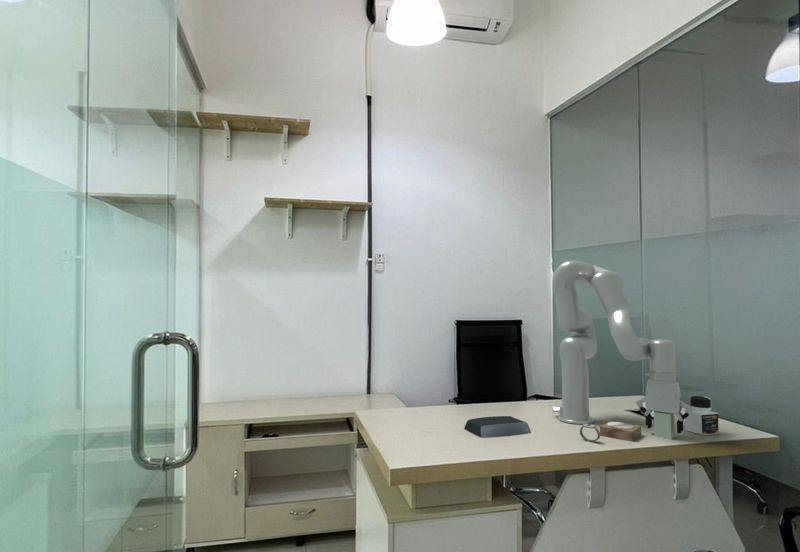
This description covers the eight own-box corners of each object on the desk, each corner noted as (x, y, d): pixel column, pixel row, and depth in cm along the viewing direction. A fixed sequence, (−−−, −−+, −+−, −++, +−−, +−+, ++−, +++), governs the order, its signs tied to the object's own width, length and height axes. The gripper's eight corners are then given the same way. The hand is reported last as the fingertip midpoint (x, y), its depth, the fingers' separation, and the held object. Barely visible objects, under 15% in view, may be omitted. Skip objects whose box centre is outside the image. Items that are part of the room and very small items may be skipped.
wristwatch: (601, 442, 149) (601, 426, 150) (597, 444, 147) (597, 427, 148) (582, 438, 154) (582, 422, 154) (578, 439, 152) (578, 424, 152)
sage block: (654, 436, 157) (653, 411, 157) (658, 433, 161) (657, 409, 161) (671, 439, 154) (670, 414, 154) (674, 436, 157) (674, 411, 158)
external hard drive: (532, 434, 159) (532, 422, 160) (482, 440, 153) (482, 427, 153) (510, 425, 172) (510, 414, 172) (462, 429, 165) (462, 417, 165)
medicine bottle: (702, 435, 158) (701, 399, 159) (684, 430, 165) (683, 395, 166) (719, 434, 160) (718, 398, 161) (700, 428, 167) (699, 394, 168)
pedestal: (600, 435, 157) (599, 425, 158) (610, 429, 165) (610, 419, 165) (632, 441, 151) (632, 430, 151) (641, 435, 158) (641, 424, 158)
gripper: (631, 375, 161) (632, 427, 160) (690, 381, 150) (692, 437, 149) (638, 373, 167) (639, 423, 166) (695, 378, 155) (697, 432, 154)
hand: (664, 429), depth 157 cm, fingers open, 8 cm apart
